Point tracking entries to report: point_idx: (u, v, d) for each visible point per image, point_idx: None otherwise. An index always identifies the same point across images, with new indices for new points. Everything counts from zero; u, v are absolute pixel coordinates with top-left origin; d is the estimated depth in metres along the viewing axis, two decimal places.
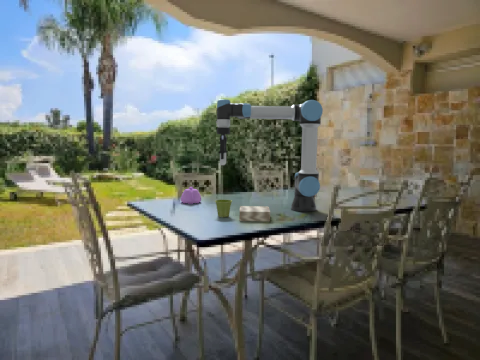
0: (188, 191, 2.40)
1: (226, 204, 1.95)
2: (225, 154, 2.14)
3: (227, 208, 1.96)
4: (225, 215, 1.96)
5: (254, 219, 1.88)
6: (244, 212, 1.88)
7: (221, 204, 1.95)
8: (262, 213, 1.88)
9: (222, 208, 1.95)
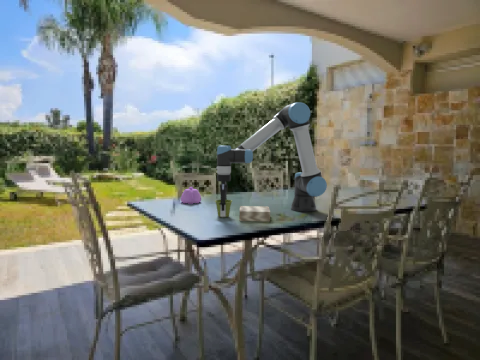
0: (188, 191, 2.40)
1: (226, 204, 1.95)
2: None
3: (227, 208, 1.96)
4: None
5: (254, 219, 1.88)
6: (244, 212, 1.88)
7: None
8: (262, 213, 1.88)
9: None
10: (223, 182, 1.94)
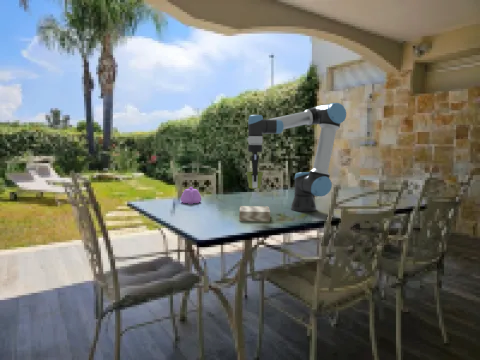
0: (188, 191, 2.40)
1: (258, 175, 1.90)
2: None
3: (259, 179, 1.91)
4: None
5: (254, 219, 1.88)
6: (244, 212, 1.88)
7: None
8: (262, 213, 1.88)
9: None
10: (255, 152, 1.89)
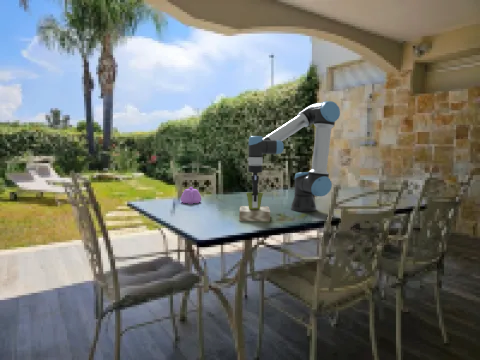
0: (188, 191, 2.40)
1: (258, 196, 1.90)
2: None
3: (259, 200, 1.91)
4: None
5: (254, 219, 1.88)
6: (244, 212, 1.88)
7: None
8: (262, 213, 1.88)
9: None
10: (255, 173, 1.90)
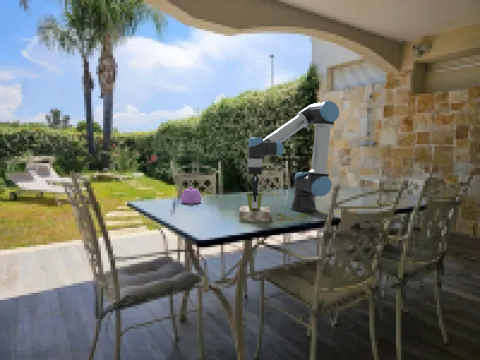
0: (188, 191, 2.40)
1: (258, 195, 1.89)
2: None
3: (259, 200, 1.90)
4: (257, 207, 1.90)
5: (254, 219, 1.88)
6: (244, 212, 1.88)
7: None
8: (262, 213, 1.88)
9: None
10: None
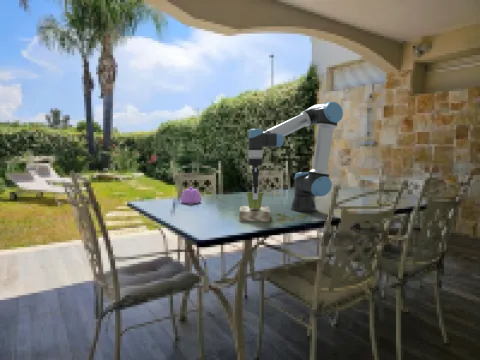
0: (188, 191, 2.40)
1: (258, 194, 1.89)
2: None
3: (259, 199, 1.90)
4: (257, 206, 1.89)
5: (254, 219, 1.88)
6: (244, 212, 1.88)
7: None
8: (262, 213, 1.88)
9: (254, 199, 1.89)
10: None
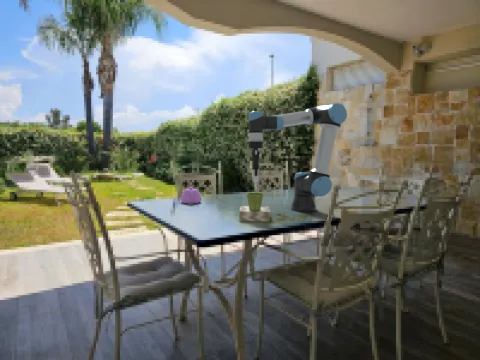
0: (188, 191, 2.40)
1: (258, 197, 1.88)
2: None
3: (259, 201, 1.89)
4: (257, 208, 1.89)
5: (254, 219, 1.88)
6: (244, 212, 1.88)
7: (253, 197, 1.87)
8: (262, 213, 1.88)
9: (254, 201, 1.88)
10: None
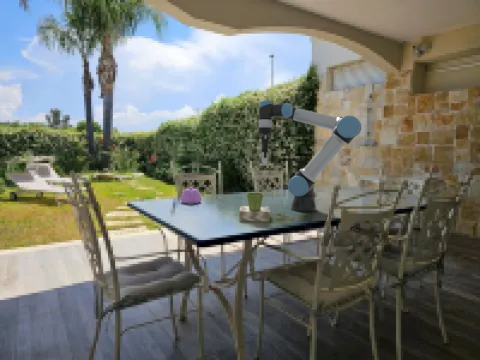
0: (188, 191, 2.40)
1: (258, 197, 1.88)
2: None
3: (259, 201, 1.89)
4: (257, 208, 1.89)
5: (254, 219, 1.88)
6: (244, 212, 1.88)
7: (253, 197, 1.87)
8: (262, 213, 1.88)
9: (254, 201, 1.88)
10: None
